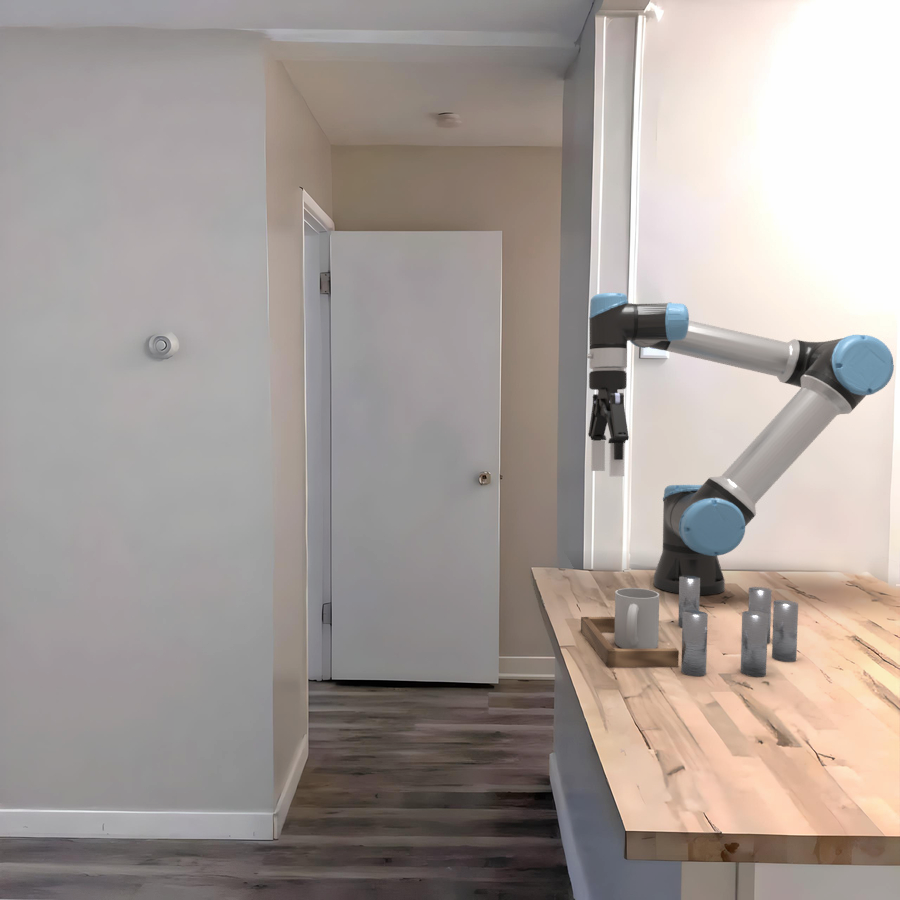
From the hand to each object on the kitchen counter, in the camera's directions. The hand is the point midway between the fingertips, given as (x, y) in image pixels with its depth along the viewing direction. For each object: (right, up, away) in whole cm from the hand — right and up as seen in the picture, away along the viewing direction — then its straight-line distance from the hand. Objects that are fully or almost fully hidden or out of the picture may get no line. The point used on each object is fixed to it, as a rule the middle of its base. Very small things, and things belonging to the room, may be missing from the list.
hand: (606, 473), depth 156 cm
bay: (-3, -28, -30) cm, 41 cm away
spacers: (+12, -28, -29) cm, 42 cm away
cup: (-2, -28, -30) cm, 41 cm away
